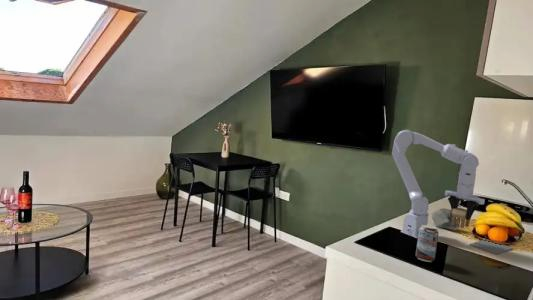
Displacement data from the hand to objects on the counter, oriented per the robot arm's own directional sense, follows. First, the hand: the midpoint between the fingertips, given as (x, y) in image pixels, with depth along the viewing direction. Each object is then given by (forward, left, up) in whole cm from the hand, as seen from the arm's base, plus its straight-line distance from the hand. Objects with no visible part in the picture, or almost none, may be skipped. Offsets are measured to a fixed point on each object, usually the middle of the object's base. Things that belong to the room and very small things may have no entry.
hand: (461, 217), depth 142 cm
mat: (+8, -9, -10) cm, 16 cm away
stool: (0, 0, -3) cm, 3 cm away
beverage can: (-30, -5, -10) cm, 32 cm away
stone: (+12, +13, -10) cm, 21 cm away
